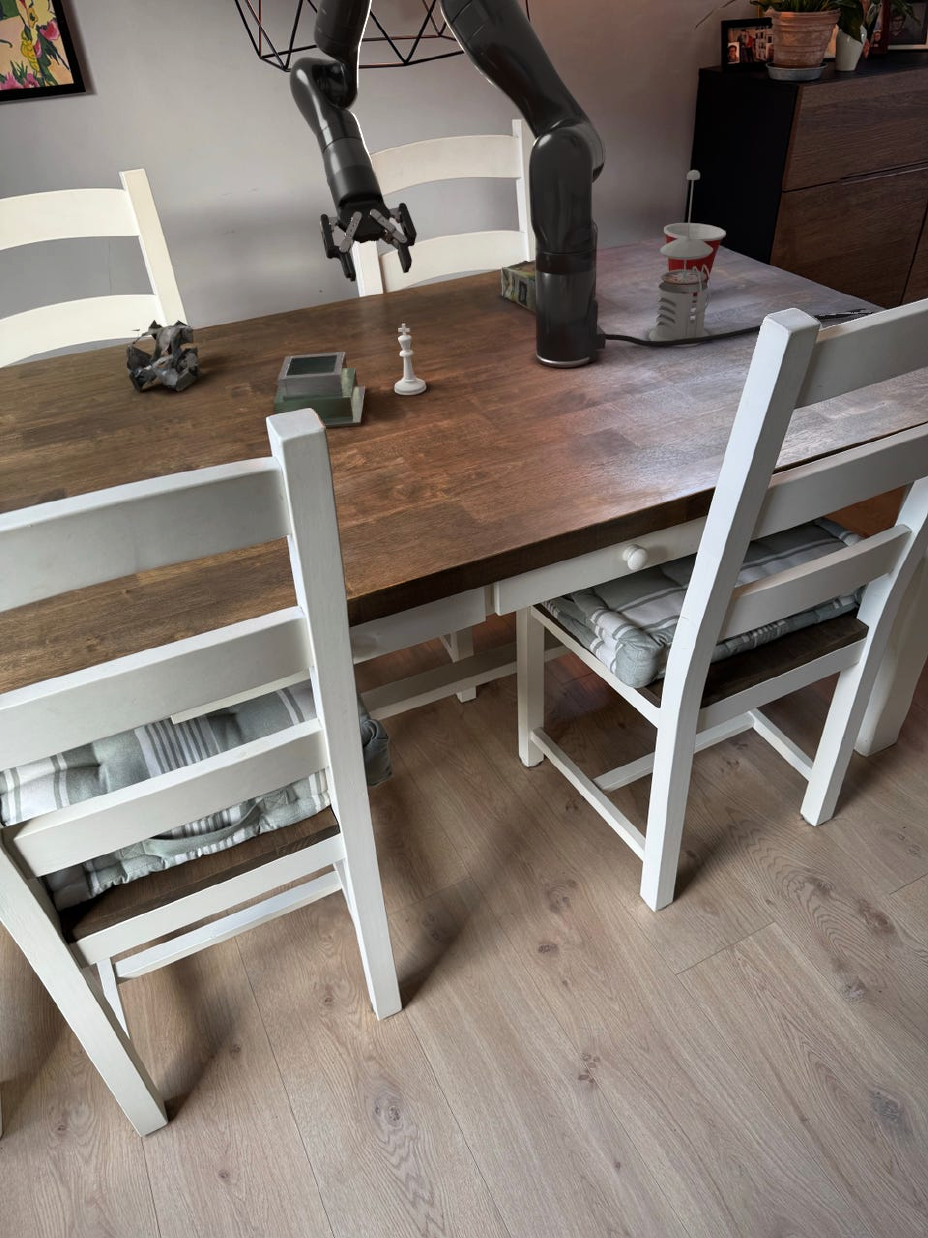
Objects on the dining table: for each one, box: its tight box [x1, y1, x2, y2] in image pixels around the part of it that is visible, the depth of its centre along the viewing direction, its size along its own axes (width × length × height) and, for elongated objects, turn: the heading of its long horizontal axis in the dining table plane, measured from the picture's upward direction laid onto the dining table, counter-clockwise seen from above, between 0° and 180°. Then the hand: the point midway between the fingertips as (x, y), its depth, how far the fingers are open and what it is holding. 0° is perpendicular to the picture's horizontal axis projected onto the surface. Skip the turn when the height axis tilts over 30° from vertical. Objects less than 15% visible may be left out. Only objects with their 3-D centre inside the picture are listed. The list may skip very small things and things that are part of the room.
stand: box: [272, 351, 366, 429], centre depth 126 cm, size 13×13×7 cm
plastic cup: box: [663, 222, 727, 303], centre depth 154 cm, size 11×11×12 cm
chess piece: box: [394, 323, 427, 396], centre depth 129 cm, size 5×5×10 cm
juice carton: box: [500, 259, 536, 314], centre depth 158 cm, size 20×10×6 cm, turn 27°
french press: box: [648, 169, 713, 348], centre depth 134 cm, size 10×12×25 cm
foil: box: [125, 319, 204, 393], centre depth 140 cm, size 12×11×15 cm
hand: (380, 274), depth 131 cm, fingers open, 8 cm apart
